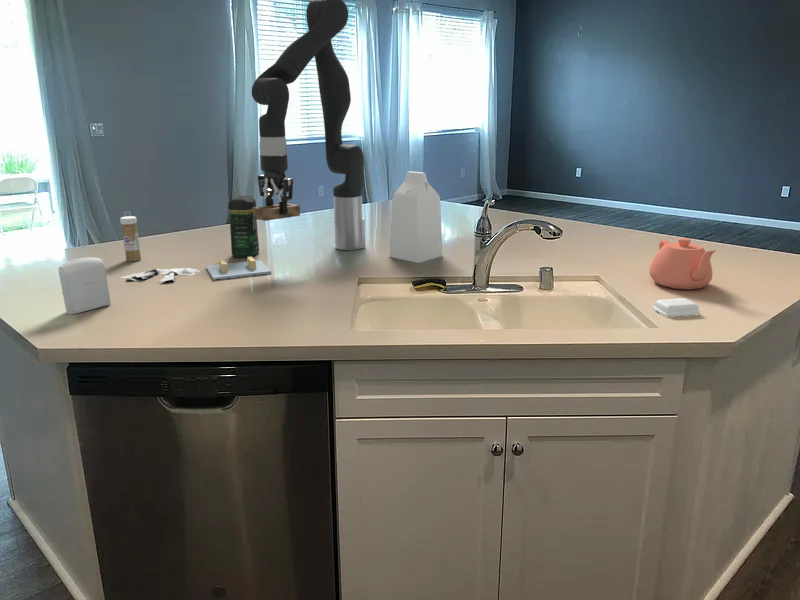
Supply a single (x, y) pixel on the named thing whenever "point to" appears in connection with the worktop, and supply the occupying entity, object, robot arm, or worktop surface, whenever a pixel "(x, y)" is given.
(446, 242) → the worktop surface
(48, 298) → the worktop surface
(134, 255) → the sprinkles bottle
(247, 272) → the panel
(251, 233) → the coffee jar
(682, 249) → the teapot
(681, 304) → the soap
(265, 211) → the frame
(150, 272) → the cloth
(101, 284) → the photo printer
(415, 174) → the milk
